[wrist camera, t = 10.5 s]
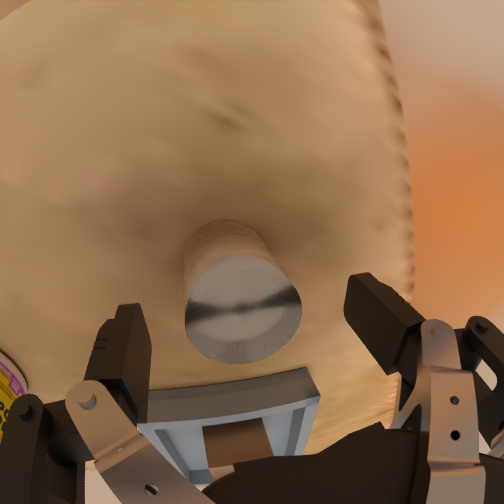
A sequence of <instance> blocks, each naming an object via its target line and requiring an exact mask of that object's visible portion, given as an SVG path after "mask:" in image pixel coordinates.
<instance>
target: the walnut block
mask: <svg viewBox="0 0 504 504" xmlns="http://www.w3.org/2000/svg"><path fill="white" fill-rule="evenodd" d="M202 431H203V438H204V445H205V451H206V457H207V463H208V468H209V471H210V473H211V475H212V477H213V479H214V481H215V480H217V479H219V478H221V477H223V476H225V475H227V474H229V473H232V472H234V467H233V463H238V462H244V461H250V460H255V459H261V458H266V457H271V456H274V454H273V451H272V448H271V445H270V442H269V439H268V436H267V433H266V430H265V427H264V424H263V421H262V417H259V418H254V419H248V420H243V421H237V422H230V423H223V424H216V425H208V426H202Z"/></svg>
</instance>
